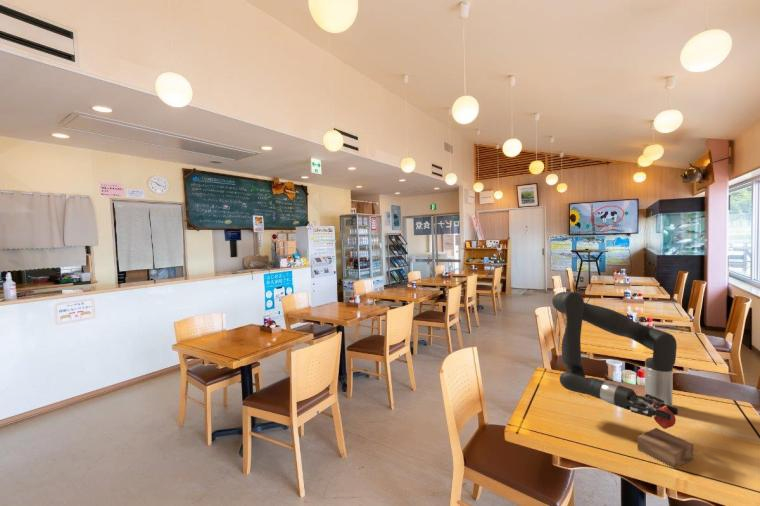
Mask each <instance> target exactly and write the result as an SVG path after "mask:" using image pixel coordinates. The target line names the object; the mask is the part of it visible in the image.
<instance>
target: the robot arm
mask: <svg viewBox="0 0 760 506" xmlns="http://www.w3.org/2000/svg"><path fill="white" fill-rule="evenodd" d="M552 305H553V307H554V308H555V309H556V311H558V312H559V313H561V314H564V315H565V318H566V326H565V330H564V333H563V337H562V339H561V360H562V363H563V364H564V365H566V368H567V371H565V372H562V373H561V374H560V376H559V383H560V384H561V386H562V387H563V388H564V389H566V390H568V391H570V392H574V393H578V394H583V395H587V396H590V397H594V398H596V399H599V400H601V401H604V402H606V403H607V404H611V405H613V406H616V407H619V408H621V409H625V410H628V411H630V413H634V414H638V415H640V416H641V415H642V416H643V417H647V418H653V417H654V416H655V417H656V416H658V417H661V418H664V419H667V420H671V419H672V415H671V413H668V412H665V411H662V410H659V409H658V408H660V407H664V406H667V408H668V409H669V410H670V411H671V412H672V413H673V414H674V416H676V415H678V414H679V409H678V408H677V407H675V406H673V393H674V392H673V391H674V389H673V388H674V387H673V380H674V377H673V375H674V373H673V369H674V365H675V364H676V358H677V346H678V345H677V340H676V338H675V336H674V334H673V335H672V333H668V332H666V331H663V330H660V329H659V328H653V327H650V326H647V325H643V324H640V323H638V322H636V321H634V320H632V319H631V318H630V317H628V316H627V315H625V314H622V312H618V311H615V310H613V309H611V308H607V307H605V306H600V305H596V304H592V303H587V302H585V301H584V298H583V296H582V295H581V294H580V293H579V292H575V291H561V292H558V293H556V294H555V295H553V297H552ZM583 321H585V322H586V323H588V324H591V325H593V326H594V327H597V328H599V329H601V330H603V331H606V332H607V333H611V334H613V335H616V336H619V337H624V338H628V339H631V340H633V341H634V342H637V343H638V344H640V345H641V346H644V347H645V348H647V349H649V350H651V351H652V357H648V358H646V359H645V361H644V365H645V366H644V395H637V394H636V392H635V390H634V389H632V388H629V387H626V386H623V385H620V384H617V383H614V382H610V381H609V382H608V381H606V380H602V379H599V378H595V377H586V373H585V369H584V366H583V363H582V348H581V347H582V346H581V338H582V337H581V334H582V325H583ZM657 409H658V410H657Z"/></svg>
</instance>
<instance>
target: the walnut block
mask: <svg viewBox="0 0 760 506" xmlns="http://www.w3.org/2000/svg"><path fill="white" fill-rule="evenodd" d="M694 446H695V445H694V443H692V442H689V441H687V440H685V439H682V438H680V437H678V436H675V435H673V434H671V433H669V432H667V431H664V430H662V429H660V428H658V427H655V428H654V429H653V428H652V429H651V430H648V431H647V432H644V433H642V434H639V435H637V451H639V452H641V453H642V452H643V454H644V453H645V455H646V454H647V456H648V455H649V456H648V457H650V456H651V457H650V458H652V457H653V458H652V459H654V458H655V459H654V460H656V459H657V460H656V461H658V460H659V461H658V462H660V461H661V462H660V463H662V462H663V463H662V464H664V463H665V464H664V465H666V464H667V465H666V466H668V465H669V466H668V467H670V466H671V467H670V468H672V467H673V468H672V469H674V468H675V469H677V468H679V467H681V466H682V465H681V464H683V465H684V463H685V462H686V463H688V462H690V461H692V460H693V459H694ZM691 459H692V460H691ZM689 460H690V461H689ZM687 461H688V462H687ZM686 463H685V464H686ZM680 465H681V466H680ZM678 466H679V467H678ZM676 467H677V468H676Z"/></svg>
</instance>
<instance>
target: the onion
mask: <svg viewBox="0 0 760 506" xmlns="http://www.w3.org/2000/svg"><path fill="white" fill-rule="evenodd" d="M658 409H659V410H662V411H665V412H668V413H671V415H672V419H671V420H667V419H664V418H661V417H658V416H656V417H655V416H653V419H654V421H655V422H656V424H658V425H659V426H660V427H661V428H662V429H665V430H666V429H668V428H671V427H673V426H675V424H676V415H675V414H673V413H672V412H671V411H670V410H669V409H668V408H667V406H664V407H660V408H658ZM658 409H657V410H658Z"/></svg>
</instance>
